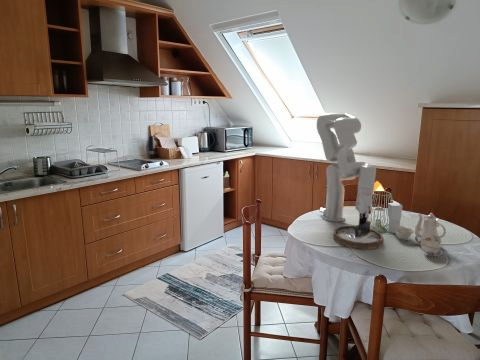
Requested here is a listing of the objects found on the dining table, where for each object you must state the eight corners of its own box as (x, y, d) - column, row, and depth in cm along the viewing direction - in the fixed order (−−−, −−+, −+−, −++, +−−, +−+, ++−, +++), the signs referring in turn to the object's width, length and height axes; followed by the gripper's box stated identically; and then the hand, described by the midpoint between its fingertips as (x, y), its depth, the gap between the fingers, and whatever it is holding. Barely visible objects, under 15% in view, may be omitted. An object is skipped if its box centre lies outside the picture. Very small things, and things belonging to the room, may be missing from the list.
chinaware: (386, 240, 177) (387, 208, 173) (413, 233, 182) (414, 202, 178) (433, 264, 152) (435, 228, 147) (462, 255, 157) (465, 220, 152)
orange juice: (380, 213, 213) (383, 180, 208) (384, 218, 204) (388, 184, 199) (366, 212, 213) (369, 180, 209) (370, 217, 205) (373, 184, 200)
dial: (365, 249, 159) (366, 235, 158) (328, 236, 174) (329, 223, 172) (387, 238, 172) (388, 225, 170) (351, 227, 186) (352, 215, 185)
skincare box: (380, 227, 190) (383, 200, 187) (391, 226, 191) (394, 200, 188) (388, 232, 182) (391, 205, 179) (399, 232, 183) (403, 204, 179)
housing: (324, 239, 172) (324, 233, 172) (346, 227, 189) (347, 221, 188) (370, 254, 157) (371, 247, 156) (391, 240, 173) (391, 233, 172)
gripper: (353, 186, 182) (350, 220, 186) (363, 194, 167) (360, 230, 172) (367, 186, 182) (364, 220, 186) (379, 194, 168) (375, 231, 172)
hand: (362, 225), depth 179 cm, fingers closed
